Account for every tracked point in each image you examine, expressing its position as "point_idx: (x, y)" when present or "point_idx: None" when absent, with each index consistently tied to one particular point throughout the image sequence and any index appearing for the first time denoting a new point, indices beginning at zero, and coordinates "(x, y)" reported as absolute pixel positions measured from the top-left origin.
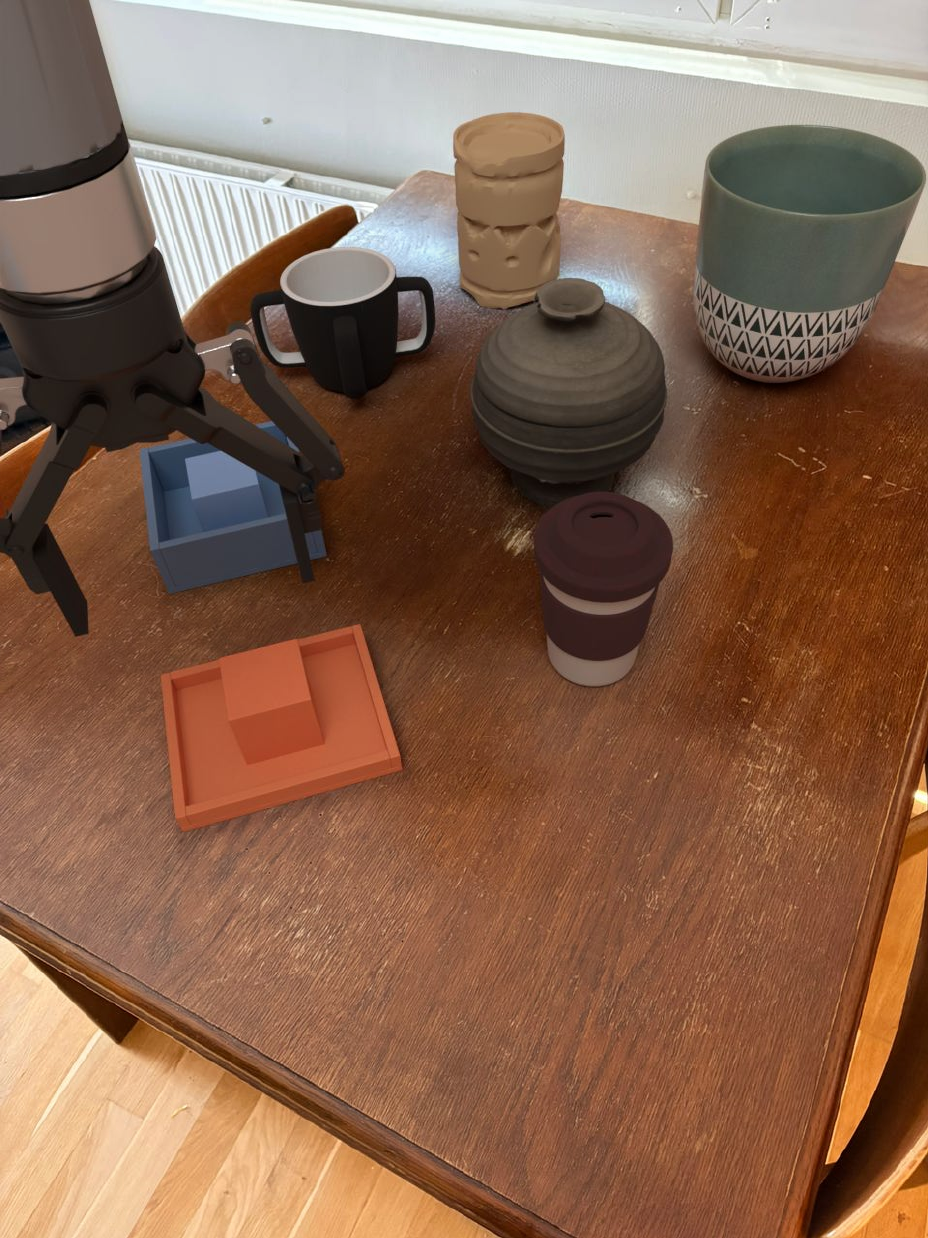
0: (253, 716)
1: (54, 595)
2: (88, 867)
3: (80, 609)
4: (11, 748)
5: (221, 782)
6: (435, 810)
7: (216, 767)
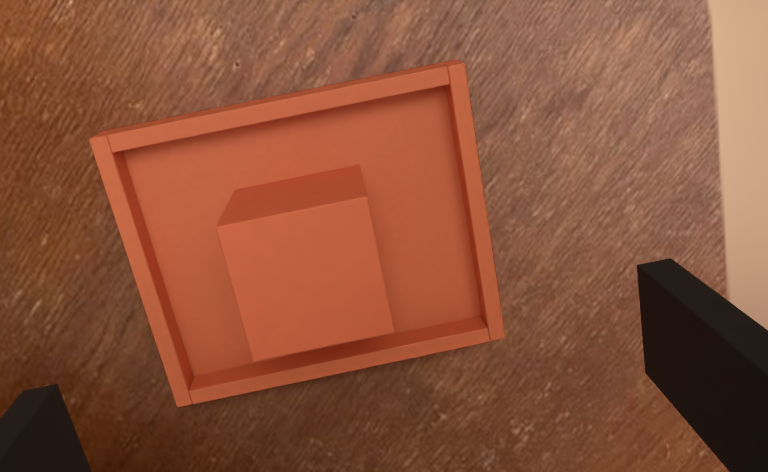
0: (323, 203)
1: (763, 332)
2: (597, 17)
3: (666, 323)
4: (723, 241)
5: (399, 138)
6: (42, 47)
7: (408, 166)
